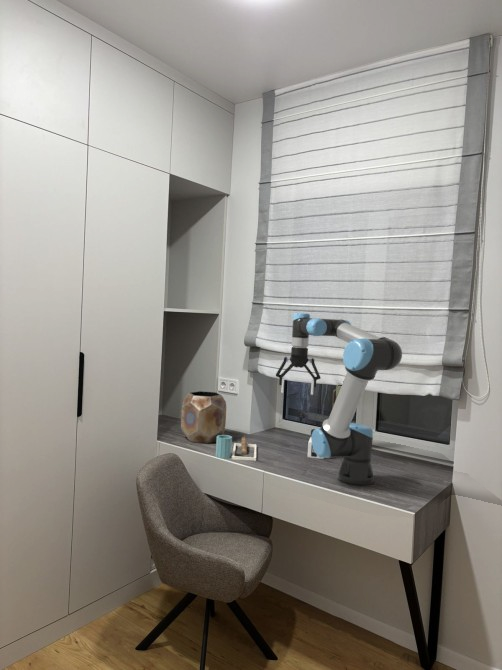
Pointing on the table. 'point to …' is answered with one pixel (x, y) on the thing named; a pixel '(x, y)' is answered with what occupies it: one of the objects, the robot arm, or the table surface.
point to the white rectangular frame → (244, 457)
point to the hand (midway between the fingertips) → (297, 393)
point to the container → (310, 449)
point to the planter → (203, 416)
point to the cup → (223, 446)
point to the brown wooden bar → (244, 445)
